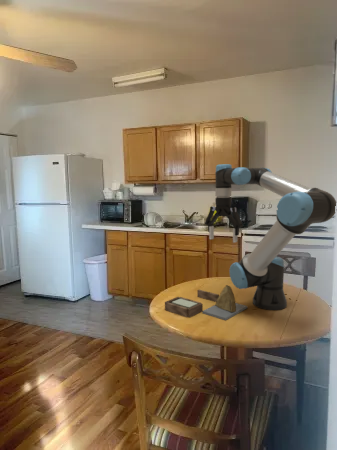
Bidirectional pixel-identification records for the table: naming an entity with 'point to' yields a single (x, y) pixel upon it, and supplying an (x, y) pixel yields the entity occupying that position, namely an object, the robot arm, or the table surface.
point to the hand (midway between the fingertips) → (223, 240)
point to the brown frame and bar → (192, 310)
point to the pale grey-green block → (184, 303)
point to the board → (223, 311)
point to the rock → (226, 300)
